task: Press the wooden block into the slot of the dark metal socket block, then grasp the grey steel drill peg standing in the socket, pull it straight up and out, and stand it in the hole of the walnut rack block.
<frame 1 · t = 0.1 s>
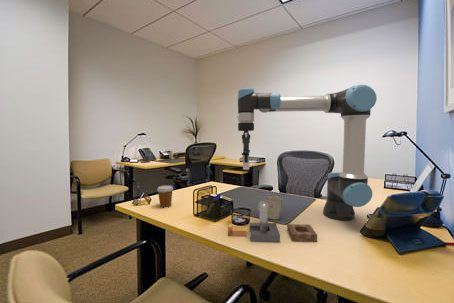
hand: (246, 167, 106), 28 cm above the table, fingers open, 13 cm apart
mug: (269, 217, 117), on the table
wooden block: (237, 230, 97), point 2 cm above the table, slide at 0.0 cm
socket block: (263, 235, 97), on the table
rack block: (301, 235, 96), on the table
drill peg: (263, 219, 96), in the socket block
disposable coffee cup: (165, 206, 136), on the table
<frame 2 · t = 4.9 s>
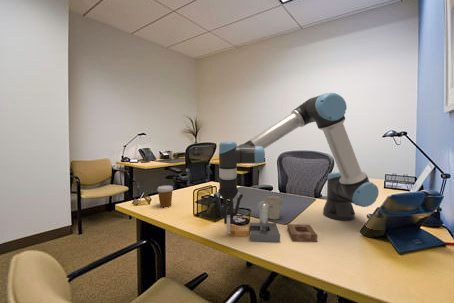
hand: (228, 230, 98), 2 cm above the table, fingers closed
wooden block: (239, 230, 97), point 2 cm above the table, slide at 1.0 cm, touching gripper
everything else where it was.
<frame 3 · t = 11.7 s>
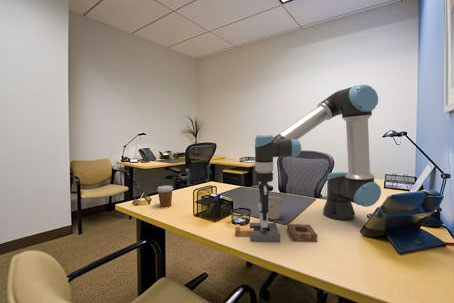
hand: (263, 224, 96), 5 cm above the table, fingers closed on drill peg, 3 cm apart
wooden block: (244, 230, 97), point 2 cm above the table, slide at 3.2 cm
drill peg: (263, 219, 96), in the socket block, touching gripper
everything else where it was.
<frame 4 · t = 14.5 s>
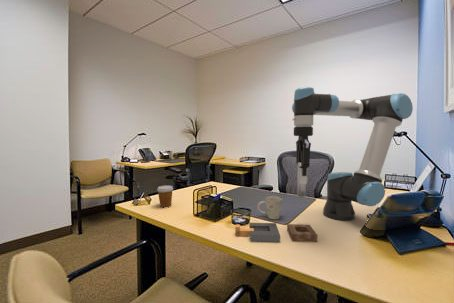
hand: (302, 182, 94), 23 cm above the table, fingers closed on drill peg, 3 cm apart
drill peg: (302, 179, 94), point 25 cm above the table, touching gripper
everything else where it was.
when the fingers open (6 cm above the table, at t = 17.7 s): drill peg stays where it is, resting in rack block.
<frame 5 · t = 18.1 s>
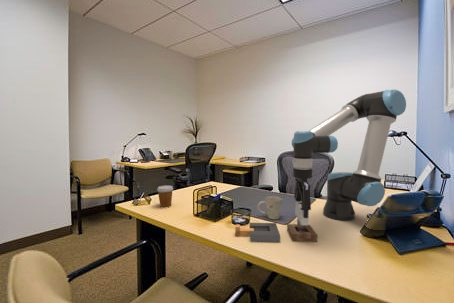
hand: (301, 220, 95), 7 cm above the table, fingers open, 9 cm apart
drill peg: (301, 220, 95), in the rack block
everything else where it was.
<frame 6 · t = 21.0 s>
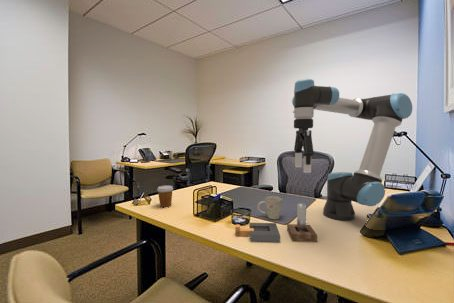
hand: (302, 169, 93), 29 cm above the table, fingers open, 13 cm apart
nothing on the table moved.
at the end: wooden block slide at 3.2 cm; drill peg 0.0 cm off-centre on the rack block, point 7.0 cm above the rack block's base; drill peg tilted 0° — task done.
